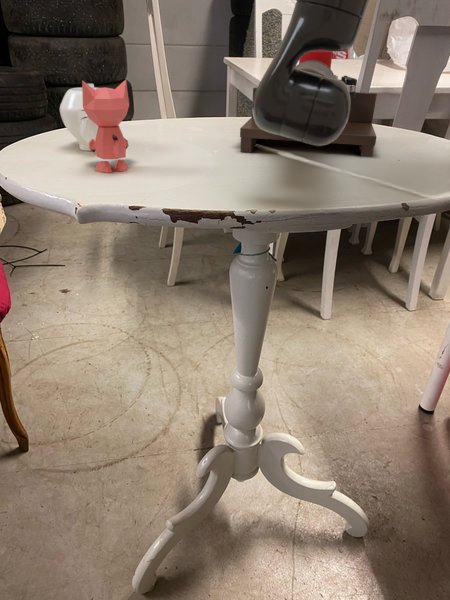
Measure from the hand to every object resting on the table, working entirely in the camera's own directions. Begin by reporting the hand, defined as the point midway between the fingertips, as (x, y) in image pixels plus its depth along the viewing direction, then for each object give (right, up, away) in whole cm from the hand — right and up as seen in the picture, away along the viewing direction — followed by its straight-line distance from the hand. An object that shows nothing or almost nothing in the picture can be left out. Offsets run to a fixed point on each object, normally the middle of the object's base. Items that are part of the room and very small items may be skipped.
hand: (313, 81), depth 80 cm
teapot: (-38, -11, +1) cm, 40 cm away
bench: (-1, -11, +3) cm, 11 cm away
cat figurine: (-32, -19, -12) cm, 38 cm away
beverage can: (-1, -7, +1) cm, 7 cm away
